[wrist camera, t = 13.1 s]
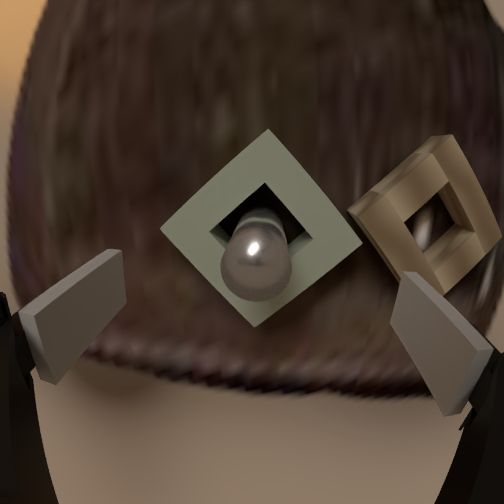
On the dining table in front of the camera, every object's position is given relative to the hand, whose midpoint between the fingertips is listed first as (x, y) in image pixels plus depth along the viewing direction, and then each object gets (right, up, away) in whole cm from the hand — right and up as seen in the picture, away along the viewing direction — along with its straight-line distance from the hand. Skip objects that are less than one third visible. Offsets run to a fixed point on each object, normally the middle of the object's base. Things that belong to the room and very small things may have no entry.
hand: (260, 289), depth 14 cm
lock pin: (+1, +4, +15) cm, 16 cm away
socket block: (+1, +4, +15) cm, 16 cm away
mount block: (+17, +5, +14) cm, 23 cm away
